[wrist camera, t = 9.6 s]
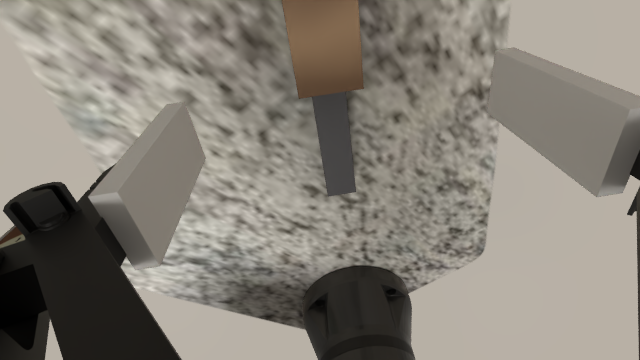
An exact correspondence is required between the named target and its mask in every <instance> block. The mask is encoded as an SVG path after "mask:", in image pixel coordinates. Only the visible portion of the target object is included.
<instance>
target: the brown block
mask: <svg viewBox="0 0 640 360" xmlns="http://www.w3.org/2000/svg"><path fill="white" fill-rule="evenodd" d="M282 4H283V10H284V16H285V22H286V27H287V33H288V39H289V45H290V50H291V56H292V62H293V68H294V73H295V79H296V85H297V90H298V96H299V99H301V98H307V97H313V96H320V95H326V94H333V93H339V92H345V91H352V90H358V89H364V87H363V71H362V55H361V39H360V23H359V7H358V0H282Z"/></svg>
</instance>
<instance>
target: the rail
mask: <svg viewBox="0 0 640 360" xmlns="http://www.w3.org/2000/svg"><path fill="white" fill-rule="evenodd" d="M312 99H313V105H314V112H315V118H316V124H317V130H318V137H319V143H320V149H321V155H322V161H323V168H324V174H325V180H326V186H327V192H328V196H334V195H340V194H346V193H352V192H356V187H355V178H354V168H353V158H352V148H351V139H350V129H349V119H348V109H347V100H346V91H345V92H339V93H333V94H326V95H320V96H313V97H312Z"/></svg>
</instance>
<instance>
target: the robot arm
mask: <svg viewBox="0 0 640 360" xmlns="http://www.w3.org/2000/svg"><path fill="white" fill-rule="evenodd" d="M487 113H488V114H489V115H490V116H492V117H493V118H494V119H496V120H497V121H498V122H500V123H501V124H502V125H503V126H505V127H506V128H508V129H509V130H510V131H511V132H513V133H514V134H515V135H516V136H518V137H519V138H520V139H522V140H523V141H524V142H526V143H527V144H528V145H530V146H531V147H532V148H533V149H535V150H536V151H537V152H539V153H540V154H541V155H542V156H544V157H545V158H546V159H548V160H549V161H550V162H552V163H553V164H554V165H555V166H557V167H558V168H559V169H561V170H562V171H563V172H565V173H566V174H567V175H568V176H570V177H571V178H572V179H574V180H575V181H576V182H578V183H579V184H580V185H581V186H583V187H584V188H585V189H587V190H588V191H589V192H591V193H592V194H593V195H595V196H596V197H601V196H606V195H613V194H619V193H623V191H624V188H625V186H626V184H627V182H628V179H629V177H630V175H632V176H634V177H635V178H637V179H638V180H640V96H638V95H635V94H633V93H630V92H628V91H625V90H622V89H620V88H617V87H614V86H612V85H609V84H607V83H604V82H601V81H599V80H596V79H594V78H591V77H589V76H586V75H583V74H581V73H578V72H576V71H573V70H571V69H568V68H565V67H563V66H560V65H557V64H555V63H552V62H550V61H547V60H545V59H542V58H540V57H537V56H534V55H532V54H529V53H527V52H524V51H521V50H519V49H516V48H508V49H502V50H496V51H495V57H494V65H493V72H492V79H491V86H490V93H489V101H488V108H487ZM205 159H206V158H205V155H204V152H203V150H202V147H201V144H200V142H199V139H198V136H197V134H196V131H195V128H194V126H193V123H192V120H191V118H190V115H189V112H188V110H187V107H186V104H185V102H180V103H173V104H167V105H166V106H165V107H164V108H163V109H162V111H161V112H160V113H159V114H158V115H157V116H156V118H155V119H154V120H153V121H152V122H151V123H150V125H149V126H148V127H147V128H146V129H145V130H144V132H143V133H142V134H141V135H140V136H139V138H138V139H137V140H136V141H135V142H134V143H133V145H132V146H131V147H130V148H129V149H128V150H127V152H126V153H125V154H124V155H123V156H122V157H121V159H120V160H119V161H118V162H117V163H116V164H115V165H113V166H112V167H110V168H109V169H107V170H106V171H104V172H103V173H102V175H101V176H100V177H99V178H98V179H97V180H96V182H95V183H94V184H93V185H92V186H91V187H90V190H88V191H87V192H86V193H85V194H84V195H83V196H82V197H81V198H80V200H79V201H78V202H76V200H75V199H74V197H73V196H72V195H71V193H70V192H69V190H68V189H67V187H66V186H65V184H63V183H61V182H52V183H47V184H42V185H40V186H37V187H34V188H31V189H29V190H27V191H25V192H23V193H21V194H19V195H18V196H16V197H14V198H13V199H12V200H10V201H9V202H8V203H7V204H6V205H5V207H4V210H3V212H4V213H5V214H6V215H7V216H8V217H9V219H10V220H11V221H12V222H13V223H14V225H15V226H16V227H17V228H18V229H19V231H20V232H21V233H22V234H23V235H24V237H25V240H23V241H20V242H17V243H14V244H11V245H8V246H5V247H2V248H0V360H45V353H46V345H47V337H48V330H49V322H50V319H51V322H52V325H53V328H54V331H55V335H56V338H57V341H58V344H59V347H60V351H61V354H62V357H63V360H181V358H180V357H179V355H178V353H177V352H176V350H175V349H174V347H173V346H172V344H171V343H170V341H169V340H168V339H167V337H166V335H165V334H164V332H163V331H162V329H161V328H160V326H159V325H158V323H157V322H156V320H155V319H154V317H153V316H152V314H151V313H150V311H149V309H148V308H147V306H146V305H145V304H144V302H143V300H142V299H141V297H140V296H139V294H138V293H137V292H136V290H135V288H134V287H133V285H132V284H131V282H130V281H129V279H128V278H127V276H126V275H125V273H124V272H123V270H122V269H121V267H120V266H121V265H122V263H123V261H124V259H125V257H127V258H128V260H129V261H130V263H131V265H132V266H133V268H134V269H135V270H139V269H145V268H152V267H158V266H160V265H161V263H162V261H163V258H164V256H165V253H166V251H167V249H168V246H169V244H170V242H171V239H172V237H173V235H174V232H175V230H176V227H177V225H178V223H179V220H180V218H181V216H182V213H183V211H184V209H185V206H186V204H187V201H188V199H189V197H190V194H191V192H192V190H193V187H194V185H195V182H196V180H197V178H198V175H199V173H200V171H201V168H202V166H203V164H204V161H205ZM635 211H637V258H638V319H639V320H638V324H639V360H640V187H639V189H638V192H637V194H636V196H635V199H634V200H633V202H632V205H631V207H630V209H629V211H628V213H627V215H633V213H634V212H635ZM411 312H412V307H411V301H410V298H409V295H408V292H407V289H406V286H405V284H404V283H403V282H402V280H401V279H400V278H399V277H397V276H396V275H395V274H393V273H391V272H389V271H386V270H384V269H380V268H375V267H351V268H345V269H341V270H338V271H335V272H332V273H330V274H328V275H326V276H324V277H322V278H321V279H319V280H318V281H317V282H315V283H314V284H313V285H312V286H311V287H310V288H309V290H308V291H307V293H306V294H305V296H304V299H303V322H304V326H305V328H306V331H307V333H308V336H309V338H310V341H311V343H312V346H313V348H314V351H315V353H316V355H317V358H318V360H415V357H414V354H413V350H412V347H411V315H412V313H411Z"/></svg>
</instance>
